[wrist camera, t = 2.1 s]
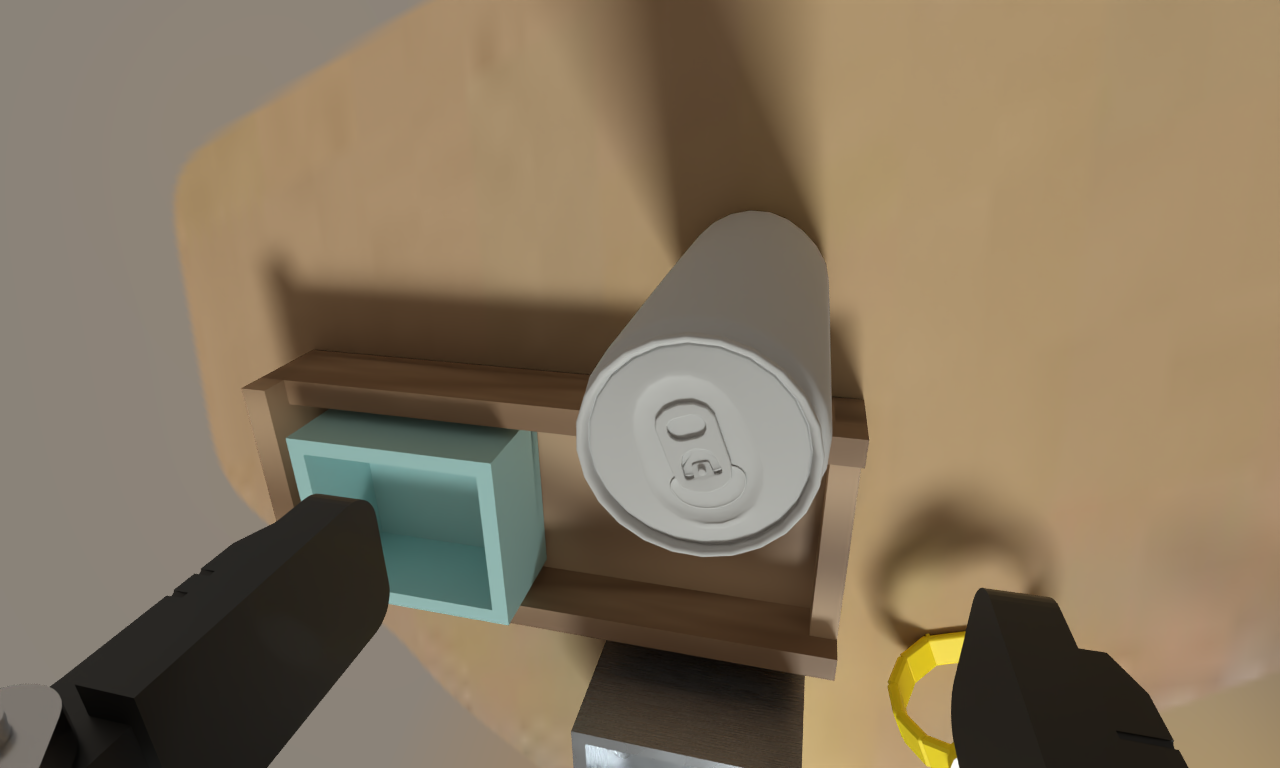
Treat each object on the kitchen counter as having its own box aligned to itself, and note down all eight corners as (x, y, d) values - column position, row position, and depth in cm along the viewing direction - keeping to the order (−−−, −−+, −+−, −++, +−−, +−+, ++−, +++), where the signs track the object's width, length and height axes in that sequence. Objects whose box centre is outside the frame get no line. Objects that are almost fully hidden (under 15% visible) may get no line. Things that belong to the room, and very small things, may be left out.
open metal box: (619, 606, 30) (571, 731, 24) (805, 637, 28) (801, 780, 23) (622, 735, 33) (580, 872, 28) (790, 770, 32) (782, 924, 26)
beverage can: (708, 362, 25) (620, 579, 14) (664, 233, 23) (528, 366, 13) (845, 327, 23) (863, 543, 12) (806, 186, 21) (788, 294, 11)
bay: (313, 349, 29) (240, 388, 25) (864, 399, 24) (870, 456, 20) (355, 546, 33) (298, 603, 29) (833, 623, 28) (834, 702, 24)
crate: (353, 392, 28) (285, 438, 25) (535, 411, 26) (490, 463, 23) (380, 533, 31) (323, 592, 28) (546, 559, 29) (508, 625, 26)
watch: (899, 672, 28) (903, 808, 23) (881, 620, 28) (881, 748, 23) (1064, 663, 26) (1109, 813, 21) (1049, 605, 25) (1093, 747, 20)
